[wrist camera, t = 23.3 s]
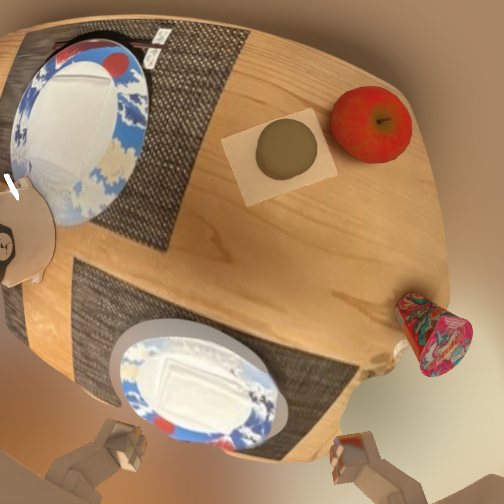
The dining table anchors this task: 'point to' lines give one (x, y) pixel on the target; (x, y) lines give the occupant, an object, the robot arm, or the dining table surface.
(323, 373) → the dining table surface
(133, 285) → the dining table surface
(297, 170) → the pepper shaker
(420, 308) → the cup
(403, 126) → the apple
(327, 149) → the napkin
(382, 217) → the dining table surface
